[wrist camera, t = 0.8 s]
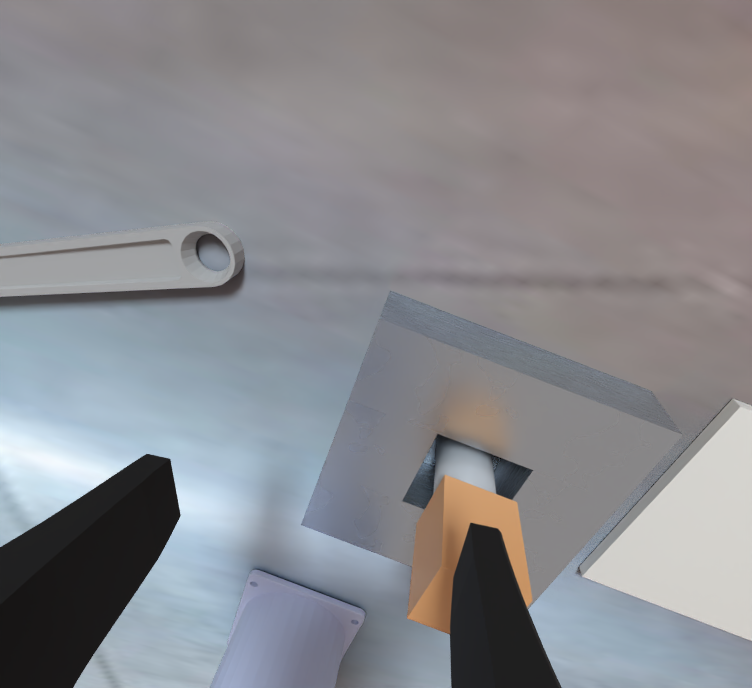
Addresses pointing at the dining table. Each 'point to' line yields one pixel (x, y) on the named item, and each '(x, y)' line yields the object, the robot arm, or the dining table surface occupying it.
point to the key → (459, 530)
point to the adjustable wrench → (116, 261)
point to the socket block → (484, 437)
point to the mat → (691, 532)
